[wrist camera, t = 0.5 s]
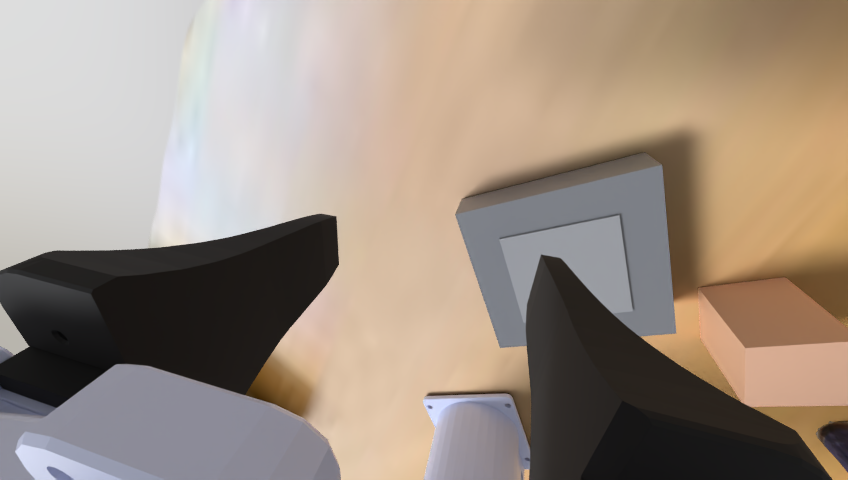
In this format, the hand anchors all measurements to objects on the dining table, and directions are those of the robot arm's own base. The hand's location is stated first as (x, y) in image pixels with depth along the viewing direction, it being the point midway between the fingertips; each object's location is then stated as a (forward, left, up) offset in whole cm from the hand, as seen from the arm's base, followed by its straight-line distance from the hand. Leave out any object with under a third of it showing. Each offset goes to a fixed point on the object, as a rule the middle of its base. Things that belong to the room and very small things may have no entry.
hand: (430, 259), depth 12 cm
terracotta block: (-12, -13, -10) cm, 21 cm away
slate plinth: (-6, -4, -10) cm, 13 cm away
